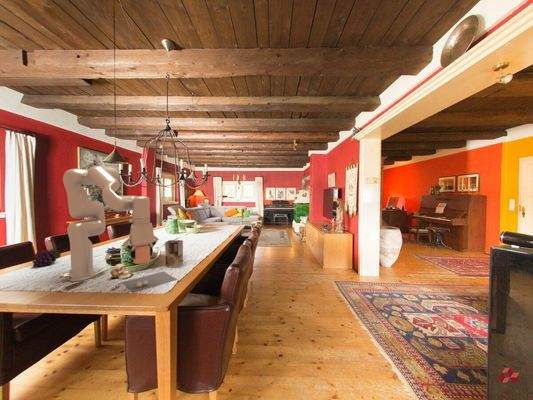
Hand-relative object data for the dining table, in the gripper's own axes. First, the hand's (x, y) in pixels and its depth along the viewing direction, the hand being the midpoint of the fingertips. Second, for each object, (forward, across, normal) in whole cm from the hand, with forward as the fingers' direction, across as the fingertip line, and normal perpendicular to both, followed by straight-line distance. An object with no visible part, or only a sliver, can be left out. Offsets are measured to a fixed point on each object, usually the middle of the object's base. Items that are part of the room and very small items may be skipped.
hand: (141, 256), depth 113 cm
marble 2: (+15, +1, 0) cm, 15 cm away
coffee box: (+16, +26, +20) cm, 36 cm away
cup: (+3, 0, 0) cm, 3 cm away
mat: (+16, +5, +4) cm, 17 cm away
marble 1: (+15, -1, 0) cm, 15 cm away
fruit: (+16, -30, +80) cm, 87 cm away
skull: (+16, -4, +22) cm, 27 cm away
